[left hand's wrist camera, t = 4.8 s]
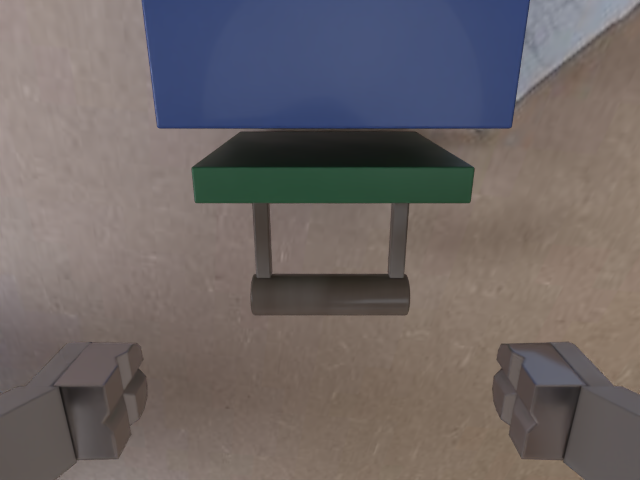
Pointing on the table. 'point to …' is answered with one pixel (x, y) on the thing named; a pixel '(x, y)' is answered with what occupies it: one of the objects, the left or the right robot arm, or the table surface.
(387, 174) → the drawer
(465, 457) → the table surface
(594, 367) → the left robot arm
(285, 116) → the cabinet
